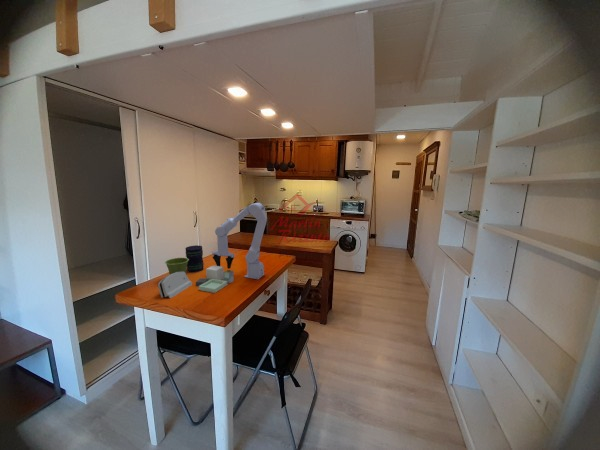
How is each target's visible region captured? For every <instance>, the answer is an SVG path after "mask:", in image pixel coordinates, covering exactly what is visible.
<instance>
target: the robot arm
mask: <svg viewBox="0 0 600 450" xmlns="http://www.w3.org/2000/svg"><path fill="white" fill-rule="evenodd" d="M247 215H248V216H249V215H252V216H253V217H254V218H255V219H256V221H257V223H256V226H255V230H254V233H253V237H252V241H251V244H250V247H249V249H248V252H247V253H246V255H245V258H244V259H245V261H246V267H247V268H246V269H247V270H246V273H247V274H246V275H244V278H247V279H253V280H259V279H261V278H262V277H263V276H264V275H265V265H264V263H263V262H261V261H260V259H259V258H260V256H261V252H260V250H261V243H262V240H263V236H264V231H265V228H266V225H267V220H268V217H267V214H266V207H264V205H263V204H262V202H255V203H251V204H249V205H247V206H246V207H244V208H243V209H242V210H241V211H240V212H239V213H238V214H237V215H235V216H234V217H229V218H226V221H225V222H224V223H221V224H220V226H217V227H216V228H215V230H214V232H215V235H216V237H217V238H216V239H217V251H212V259H213V261H214V262H215V266H221V257H225V261H226V265H227V266H226V267H227V270H230V269H232V265H233V264H232V263H233V261H234V259H235V256H236V255H235V253H232V252H230V251H229V245H228V243H229V242H228V234H229V233H230V232H231V231H232V230H233V229H234V228H236V227H237V226H238V222H240V221H241V220H242V219H244V218H245V217H246V216H247Z"/></svg>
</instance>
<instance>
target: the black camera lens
mask: <svg viewBox="0 0 600 450" xmlns="http://www.w3.org/2000/svg"><path fill="white" fill-rule="evenodd" d="M184 248H185V249H184V250H185V258H188V259H189V260H188V263H187V268H186V273H190V274H194V273H199V272H202V271H204V269H205V268H204V265H205V264H204V259H203V258H204V256H203V255H204V253H203V252H204V251H203V246H202V245H190V246H189V245H188V246H186V247H184Z"/></svg>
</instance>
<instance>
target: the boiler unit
mask: <svg viewBox="0 0 600 450" xmlns="http://www.w3.org/2000/svg"><path fill="white" fill-rule="evenodd" d="M205 271H206V275H205V276H206V277H205V278H206V279H209V280H211V279H216V280H222V281H223V272H224V271H225V270H224V266H221V265H220V266H217V265H211V266H209V267H208V268H206V269H205Z"/></svg>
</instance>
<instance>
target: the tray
mask: <svg viewBox="0 0 600 450" xmlns="http://www.w3.org/2000/svg"><path fill="white" fill-rule="evenodd" d="M226 286H228V283H227V281H223V279H222V280H216V279H211V280H209V281H207V282H205V283H204V284H202V285H200V286H198V290H199V291H203V292H207V293H213V294H216V293H218V292H219V291H220V290H222V289H223V288H225V287H226Z"/></svg>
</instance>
